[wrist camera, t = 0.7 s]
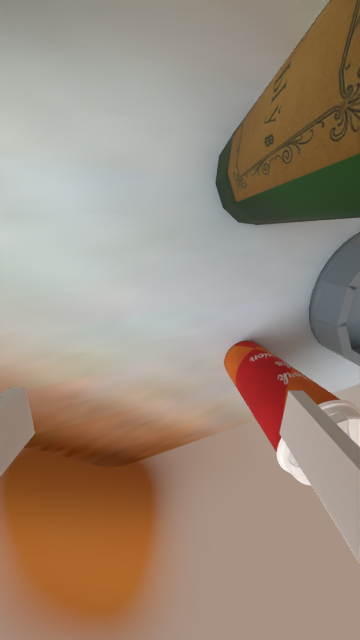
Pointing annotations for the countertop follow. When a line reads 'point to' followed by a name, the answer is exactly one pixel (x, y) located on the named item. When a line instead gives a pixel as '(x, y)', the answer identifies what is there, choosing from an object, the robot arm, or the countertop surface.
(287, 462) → the paper cup
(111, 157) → the countertop surface
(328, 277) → the bowl
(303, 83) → the bottle
